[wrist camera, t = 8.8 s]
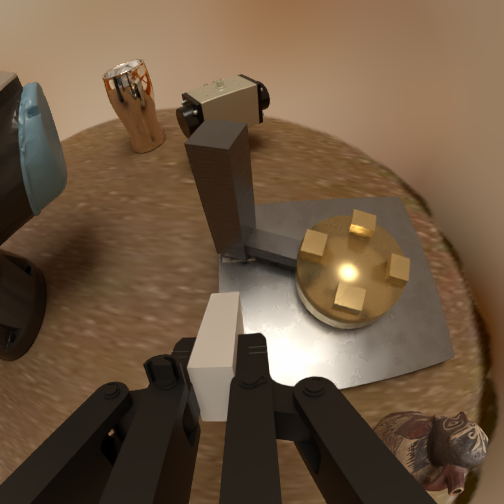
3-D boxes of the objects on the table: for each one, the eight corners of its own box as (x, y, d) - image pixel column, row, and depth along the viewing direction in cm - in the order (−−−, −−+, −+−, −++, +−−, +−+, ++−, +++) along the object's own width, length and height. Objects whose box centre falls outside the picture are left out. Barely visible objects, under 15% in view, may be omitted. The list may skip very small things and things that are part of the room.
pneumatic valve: (272, 145, 39) (269, 73, 29) (202, 177, 37) (182, 101, 26) (251, 129, 42) (246, 63, 32) (186, 158, 39) (166, 89, 29)
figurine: (440, 428, 18) (524, 422, 8) (400, 488, 15) (473, 518, 5) (393, 398, 21) (471, 382, 10) (348, 460, 18) (406, 493, 8)
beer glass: (137, 134, 45) (112, 65, 32) (171, 128, 44) (151, 54, 32) (125, 157, 41) (93, 83, 28) (162, 152, 41) (135, 70, 28)
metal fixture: (202, 285, 26) (153, 181, 14) (242, 206, 30) (227, 97, 19) (386, 340, 21) (476, 269, 10) (398, 249, 26) (453, 150, 15)
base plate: (226, 401, 22) (222, 400, 20) (221, 219, 32) (218, 207, 31) (444, 361, 21) (455, 356, 20) (395, 207, 32) (400, 195, 30)
